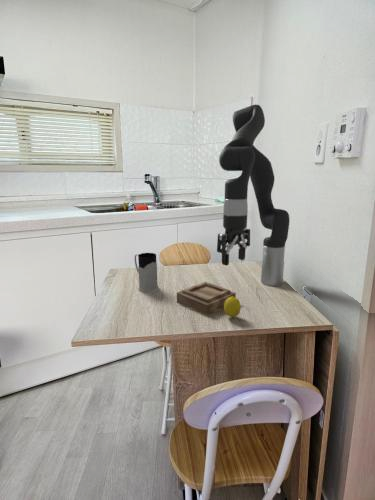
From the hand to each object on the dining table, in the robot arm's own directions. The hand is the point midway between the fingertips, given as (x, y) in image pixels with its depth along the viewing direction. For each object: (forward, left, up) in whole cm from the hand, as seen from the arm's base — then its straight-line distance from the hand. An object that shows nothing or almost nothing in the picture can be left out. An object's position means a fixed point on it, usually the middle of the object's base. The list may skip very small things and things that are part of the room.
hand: (233, 262), depth 102 cm
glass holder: (+4, -45, -20) cm, 49 cm away
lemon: (0, 0, -20) cm, 20 cm away
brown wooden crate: (-3, -15, -20) cm, 25 cm away
